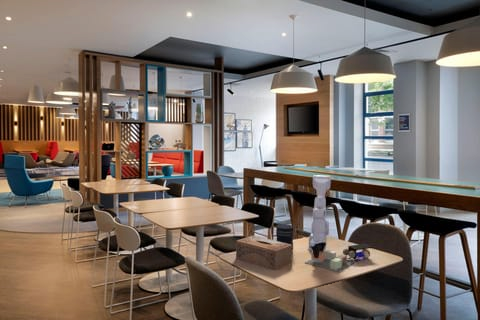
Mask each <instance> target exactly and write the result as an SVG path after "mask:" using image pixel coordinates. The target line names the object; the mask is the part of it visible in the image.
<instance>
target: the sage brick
mask: <svg viewBox="0 0 480 320" xmlns="http://www.w3.org/2000/svg"><path fill="white" fill-rule="evenodd" d="M341 267H342V259H339V258H335V259H333V260H331V265H330V268H331V269H334V270H337V269H339V268H341Z"/></svg>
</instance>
